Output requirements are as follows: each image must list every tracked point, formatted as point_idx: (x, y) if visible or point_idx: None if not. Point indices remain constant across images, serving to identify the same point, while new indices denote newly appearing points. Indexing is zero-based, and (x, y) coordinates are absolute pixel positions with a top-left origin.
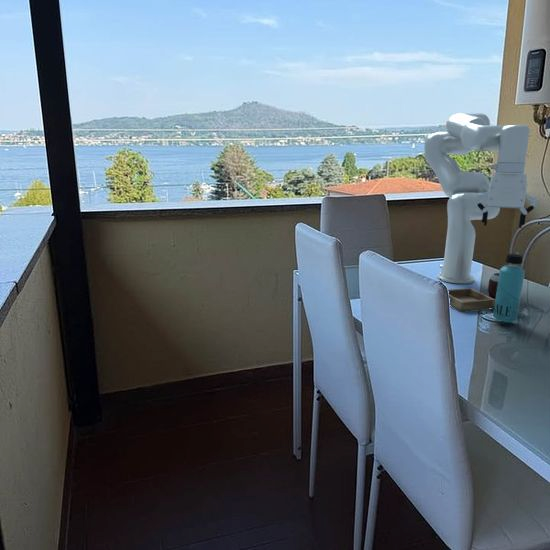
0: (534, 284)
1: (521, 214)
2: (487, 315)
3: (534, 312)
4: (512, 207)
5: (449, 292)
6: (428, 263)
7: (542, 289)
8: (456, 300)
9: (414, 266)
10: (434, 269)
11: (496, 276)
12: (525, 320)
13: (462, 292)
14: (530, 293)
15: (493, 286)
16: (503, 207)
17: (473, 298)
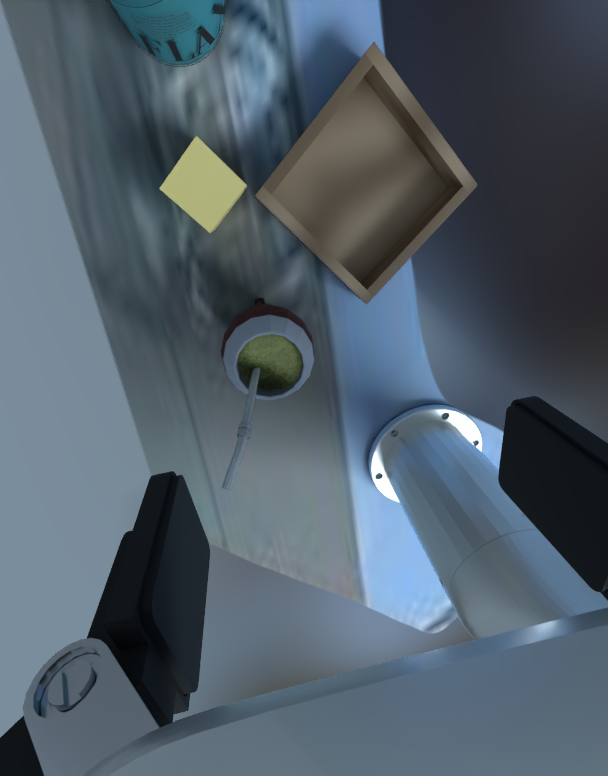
0: None
1: (146, 643)
2: (258, 86)
3: (119, 251)
4: (301, 695)
5: (435, 211)
6: None
7: None
8: (399, 79)
9: None
10: None
11: (287, 336)
12: (115, 117)
13: (388, 261)
14: (190, 451)
15: (287, 310)
16: (505, 637)
17: (341, 260)
